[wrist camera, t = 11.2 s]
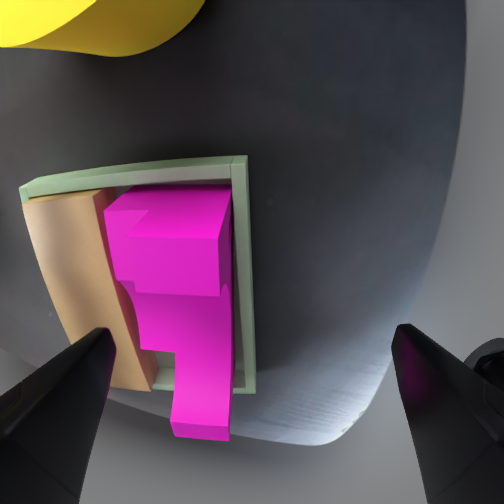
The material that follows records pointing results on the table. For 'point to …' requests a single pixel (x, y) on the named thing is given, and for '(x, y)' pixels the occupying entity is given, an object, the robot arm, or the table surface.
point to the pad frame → (237, 175)
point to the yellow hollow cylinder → (94, 24)
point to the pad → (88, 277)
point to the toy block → (182, 292)
